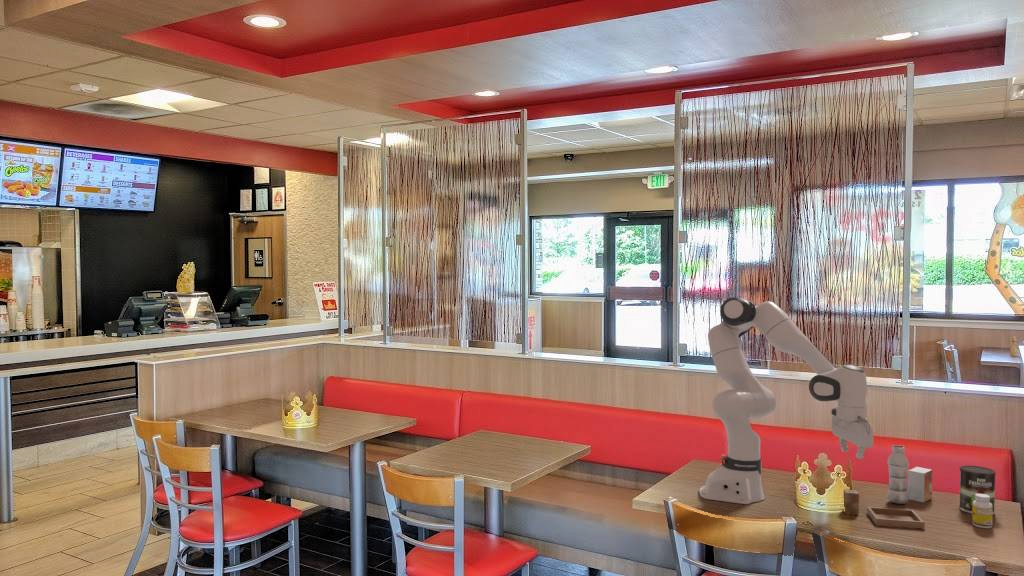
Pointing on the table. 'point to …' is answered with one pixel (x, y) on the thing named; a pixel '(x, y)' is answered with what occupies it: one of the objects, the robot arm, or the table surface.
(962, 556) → the table surface
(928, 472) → the small box
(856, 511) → the block
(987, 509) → the supplement bottle
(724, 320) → the robot arm
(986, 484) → the coffee can
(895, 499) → the plastic bottle
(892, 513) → the tray
